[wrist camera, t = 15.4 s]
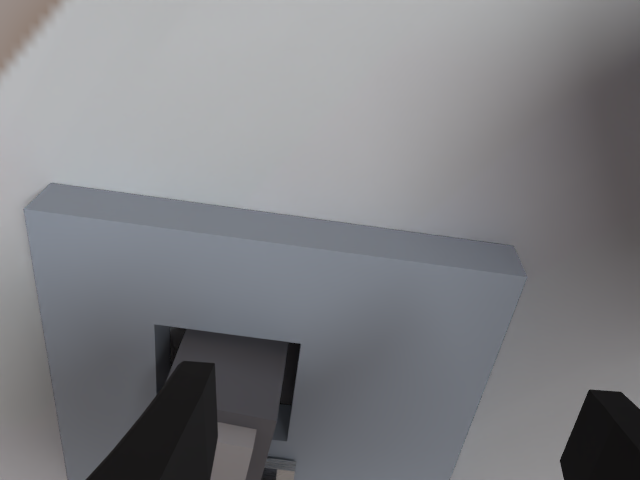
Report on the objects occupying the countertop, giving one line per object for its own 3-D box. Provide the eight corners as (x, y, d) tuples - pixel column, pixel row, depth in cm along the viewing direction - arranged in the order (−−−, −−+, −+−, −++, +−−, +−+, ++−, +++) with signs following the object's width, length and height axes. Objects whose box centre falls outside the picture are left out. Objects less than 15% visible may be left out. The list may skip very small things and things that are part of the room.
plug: (290, 325, 24) (274, 440, 19) (273, 392, 26) (254, 512, 21) (194, 305, 24) (152, 417, 19) (185, 375, 26) (144, 491, 21)
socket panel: (513, 245, 21) (527, 277, 20) (420, 509, 30) (424, 546, 28) (50, 183, 21) (23, 208, 19) (88, 466, 29) (71, 502, 27)
